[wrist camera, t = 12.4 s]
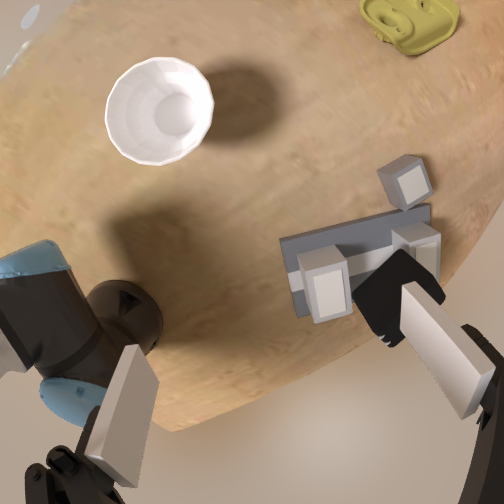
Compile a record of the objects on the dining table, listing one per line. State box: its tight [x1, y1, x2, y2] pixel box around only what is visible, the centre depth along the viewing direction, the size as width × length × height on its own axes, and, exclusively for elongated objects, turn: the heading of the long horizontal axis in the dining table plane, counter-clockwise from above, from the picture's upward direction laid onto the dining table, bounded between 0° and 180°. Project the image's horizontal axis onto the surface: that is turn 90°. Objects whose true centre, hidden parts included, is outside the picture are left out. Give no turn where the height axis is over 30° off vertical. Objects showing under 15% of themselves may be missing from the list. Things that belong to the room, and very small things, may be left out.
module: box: [377, 154, 434, 211], centre depth 41 cm, size 6×6×5 cm
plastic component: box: [359, 0, 461, 55], centre depth 31 cm, size 20×7×10 cm
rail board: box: [279, 203, 441, 324], centre depth 45 cm, size 26×14×8 cm, turn 104°
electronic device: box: [351, 249, 446, 347], centre depth 37 cm, size 4×10×10 cm, turn 136°
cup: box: [105, 57, 215, 166], centre depth 33 cm, size 12×12×11 cm
